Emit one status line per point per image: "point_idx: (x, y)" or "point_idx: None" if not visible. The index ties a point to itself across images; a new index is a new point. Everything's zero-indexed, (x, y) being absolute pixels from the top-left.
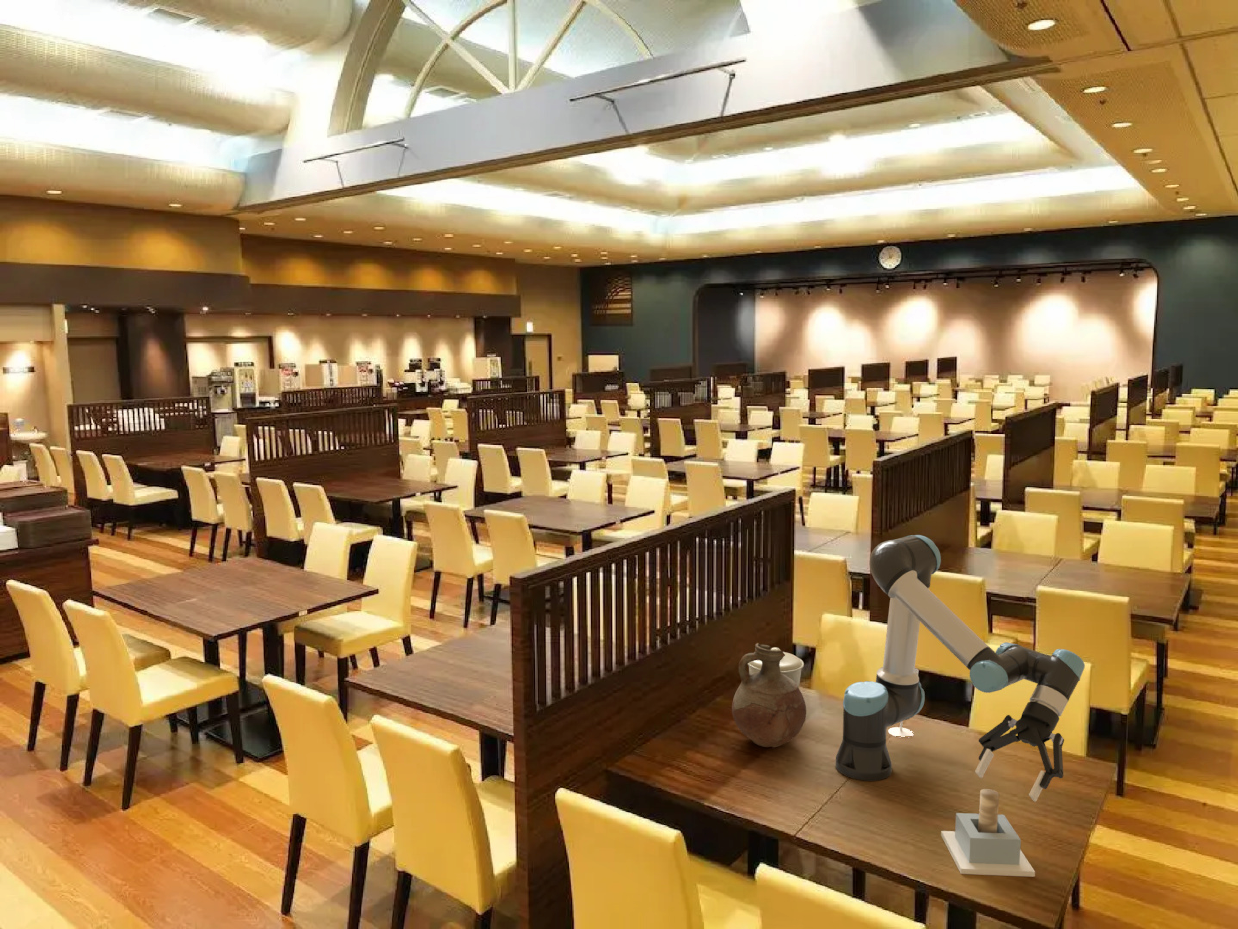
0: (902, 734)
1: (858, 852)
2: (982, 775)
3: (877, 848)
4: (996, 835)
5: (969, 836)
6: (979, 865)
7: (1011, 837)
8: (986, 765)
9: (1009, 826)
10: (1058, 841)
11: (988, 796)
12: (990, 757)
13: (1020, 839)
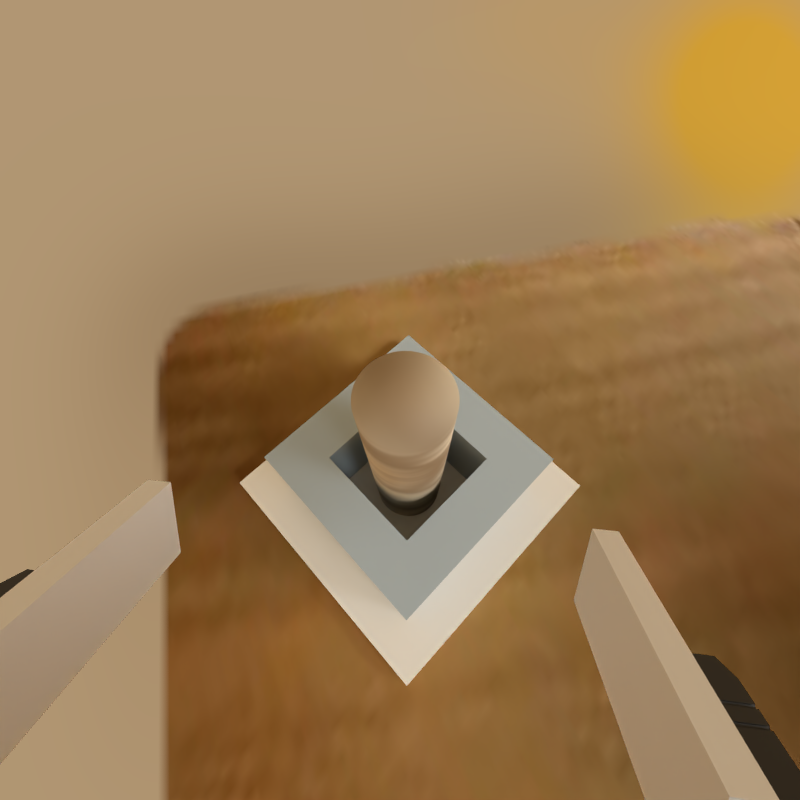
0: None
1: (637, 251)
2: (581, 605)
3: (626, 295)
4: (348, 416)
5: (416, 342)
6: None
7: (299, 447)
8: (615, 672)
9: (339, 526)
10: None
11: (390, 357)
12: (660, 780)
13: (265, 457)
